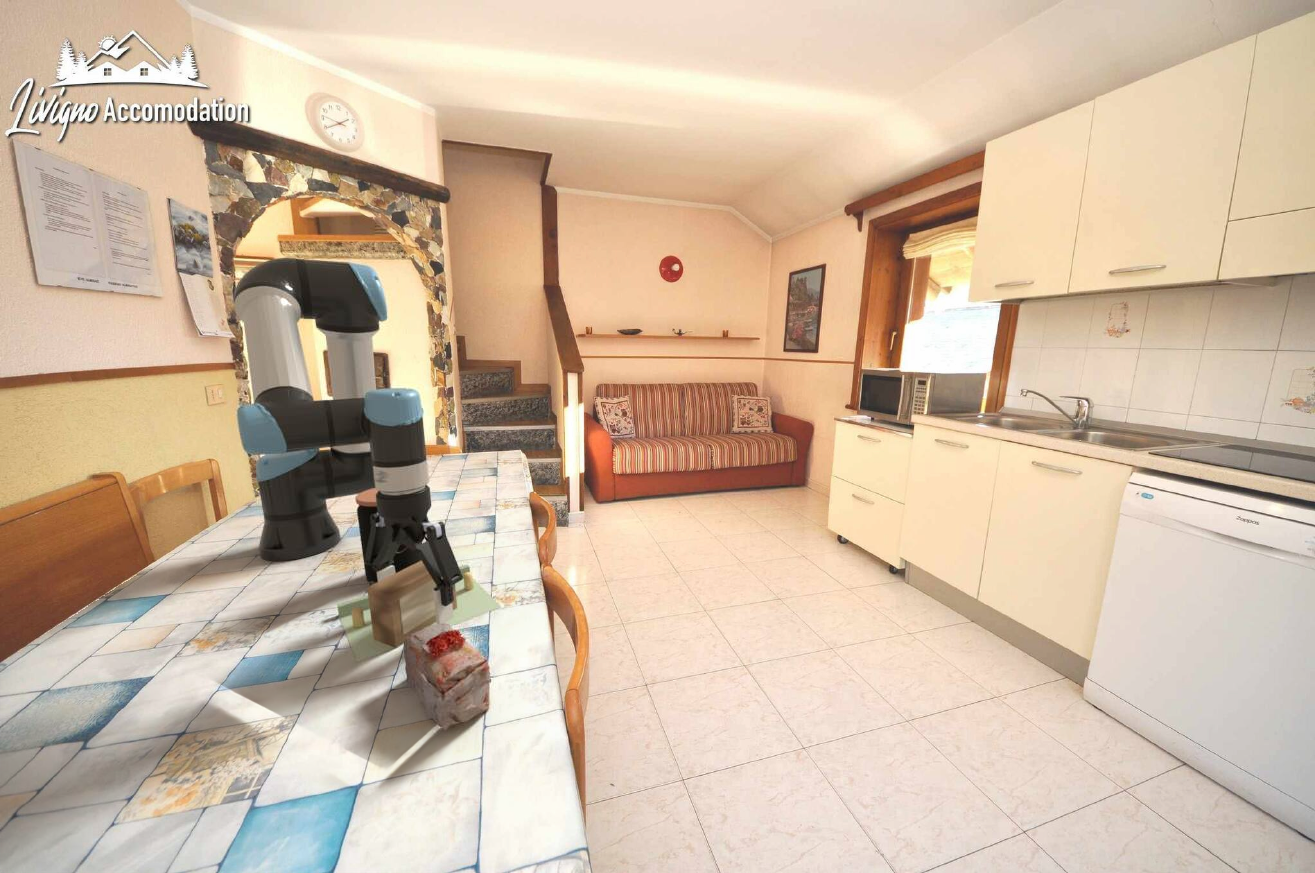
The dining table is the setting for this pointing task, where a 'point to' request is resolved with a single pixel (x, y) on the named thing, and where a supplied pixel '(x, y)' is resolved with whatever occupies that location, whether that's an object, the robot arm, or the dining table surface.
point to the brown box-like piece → (403, 604)
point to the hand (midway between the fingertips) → (416, 612)
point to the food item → (447, 674)
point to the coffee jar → (364, 511)
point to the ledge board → (468, 606)
